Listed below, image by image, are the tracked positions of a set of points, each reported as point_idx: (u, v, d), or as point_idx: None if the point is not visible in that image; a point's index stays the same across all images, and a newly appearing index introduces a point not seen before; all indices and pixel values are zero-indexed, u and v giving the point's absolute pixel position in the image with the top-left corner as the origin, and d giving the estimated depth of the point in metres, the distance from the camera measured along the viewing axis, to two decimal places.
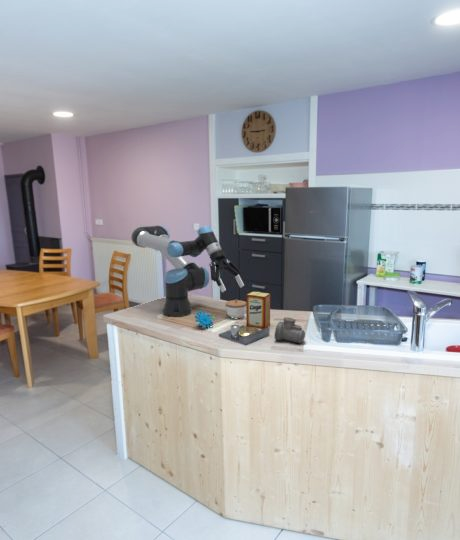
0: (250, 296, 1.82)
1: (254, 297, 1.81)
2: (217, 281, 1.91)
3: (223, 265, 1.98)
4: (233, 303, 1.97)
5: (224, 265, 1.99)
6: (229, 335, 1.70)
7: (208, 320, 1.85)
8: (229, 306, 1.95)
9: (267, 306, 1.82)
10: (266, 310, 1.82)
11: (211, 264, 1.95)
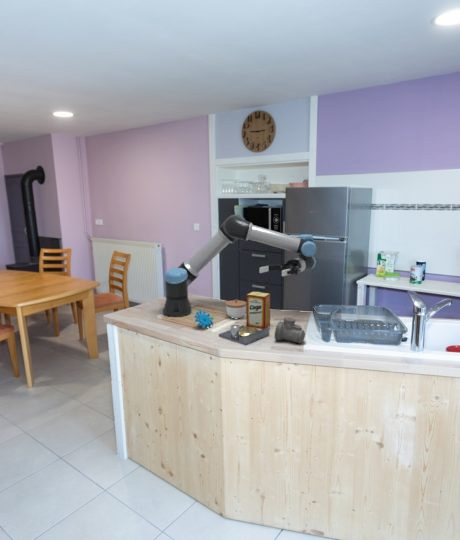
0: (250, 296, 1.82)
1: (254, 297, 1.81)
2: (291, 272, 1.87)
3: None
4: (233, 303, 1.97)
5: (285, 270, 1.99)
6: (229, 335, 1.70)
7: (208, 320, 1.85)
8: (229, 306, 1.95)
9: (267, 306, 1.82)
10: (266, 310, 1.82)
11: (300, 269, 1.95)
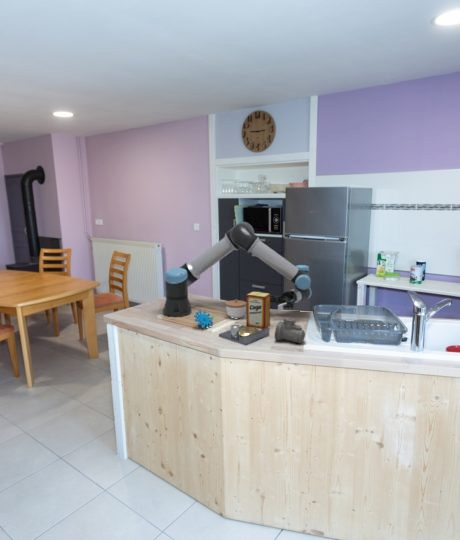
0: (250, 296, 1.82)
1: (254, 297, 1.81)
2: (287, 306, 1.87)
3: None
4: (233, 303, 1.97)
5: None
6: (229, 335, 1.70)
7: (208, 320, 1.85)
8: (229, 306, 1.95)
9: (267, 306, 1.82)
10: (266, 310, 1.82)
11: (295, 302, 1.95)
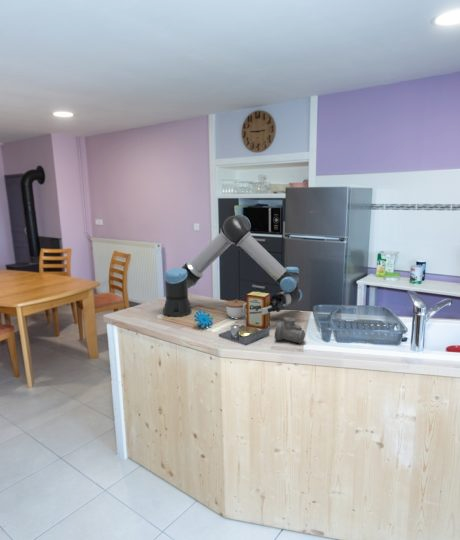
0: (250, 296, 1.82)
1: (254, 297, 1.81)
2: (272, 310, 1.81)
3: None
4: (233, 303, 1.97)
5: None
6: (229, 335, 1.70)
7: (207, 320, 1.85)
8: (229, 306, 1.95)
9: (267, 306, 1.82)
10: None
11: (283, 305, 1.88)
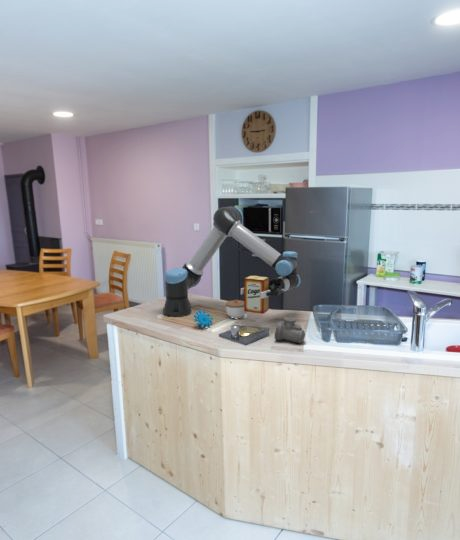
0: (248, 280, 1.76)
1: (252, 281, 1.75)
2: (271, 294, 1.75)
3: None
4: (233, 303, 1.97)
5: None
6: (229, 335, 1.70)
7: (207, 320, 1.85)
8: (229, 306, 1.95)
9: (265, 290, 1.76)
10: None
11: (282, 290, 1.83)
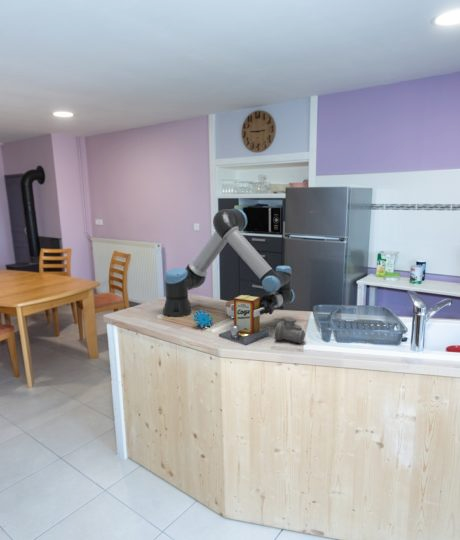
0: (238, 300, 1.70)
1: (242, 301, 1.69)
2: (265, 312, 1.68)
3: None
4: (233, 303, 1.97)
5: None
6: (229, 335, 1.70)
7: (207, 320, 1.86)
8: (229, 306, 1.95)
9: None
10: None
11: (275, 307, 1.76)
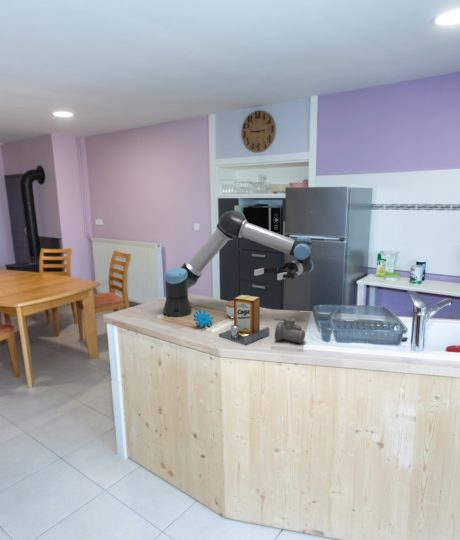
0: (238, 300, 1.70)
1: (242, 301, 1.69)
2: (287, 276, 1.78)
3: None
4: (233, 303, 1.97)
5: None
6: (229, 335, 1.70)
7: (207, 320, 1.86)
8: (229, 306, 1.95)
9: (255, 310, 1.69)
10: (255, 315, 1.69)
11: (296, 273, 1.86)
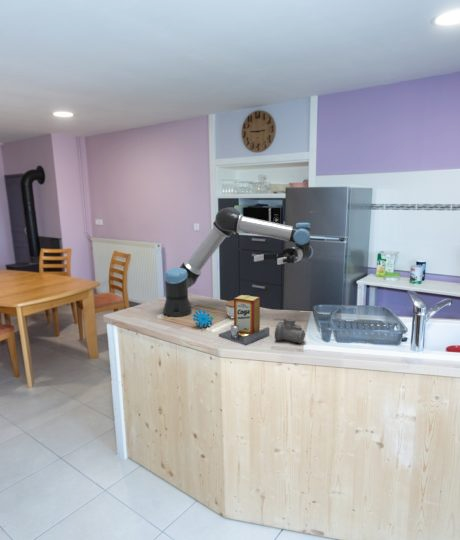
0: (238, 300, 1.70)
1: (242, 301, 1.69)
2: (287, 261, 1.78)
3: None
4: (233, 303, 1.97)
5: None
6: (229, 335, 1.70)
7: (207, 319, 1.86)
8: (229, 306, 1.95)
9: (255, 310, 1.69)
10: (255, 315, 1.69)
11: (296, 258, 1.86)
